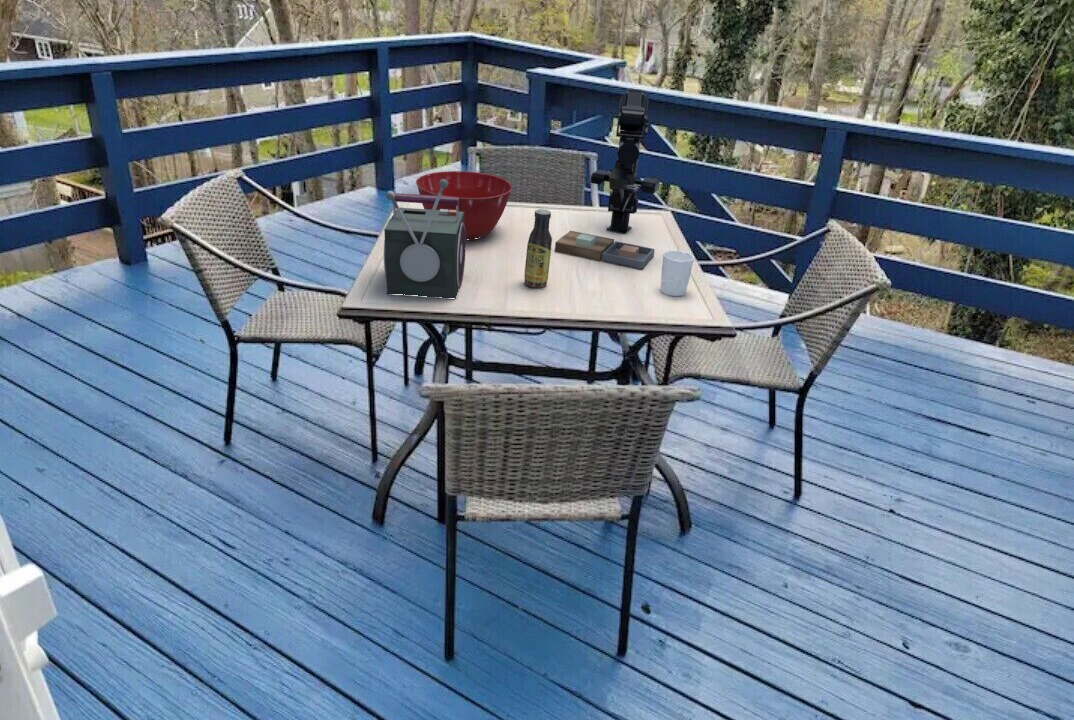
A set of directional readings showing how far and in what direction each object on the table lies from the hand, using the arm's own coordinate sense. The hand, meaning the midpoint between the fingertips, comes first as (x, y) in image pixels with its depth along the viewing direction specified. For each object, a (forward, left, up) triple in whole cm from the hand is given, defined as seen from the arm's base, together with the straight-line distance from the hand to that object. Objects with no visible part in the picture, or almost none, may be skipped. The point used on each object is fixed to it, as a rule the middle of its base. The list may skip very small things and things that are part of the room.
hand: (621, 211), depth 214 cm
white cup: (+18, +22, -13) cm, 31 cm away
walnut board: (+2, -9, -13) cm, 16 cm away
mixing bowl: (+8, -46, -13) cm, 49 cm away
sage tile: (+5, -8, -10) cm, 14 cm away
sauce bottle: (+33, -11, -13) cm, 38 cm away
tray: (+2, +4, -13) cm, 14 cm away
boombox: (+48, -36, -13) cm, 61 cm away
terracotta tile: (0, +4, -10) cm, 11 cm away
